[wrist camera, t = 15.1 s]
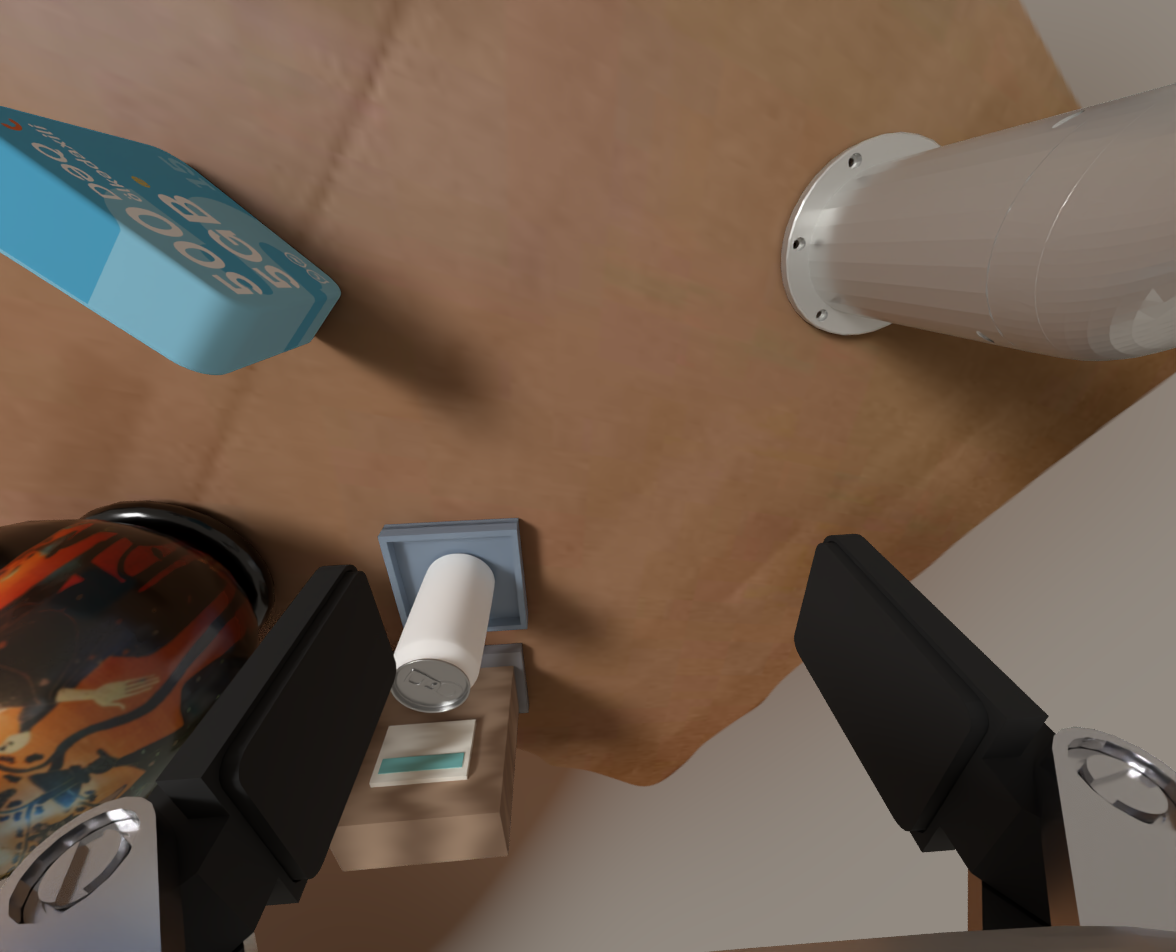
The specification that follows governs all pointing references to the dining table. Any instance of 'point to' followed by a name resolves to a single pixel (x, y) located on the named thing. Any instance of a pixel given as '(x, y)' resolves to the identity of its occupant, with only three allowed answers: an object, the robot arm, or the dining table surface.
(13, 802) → the amphora vase
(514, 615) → the tray
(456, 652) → the can
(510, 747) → the block
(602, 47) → the dining table surface
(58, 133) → the data package
